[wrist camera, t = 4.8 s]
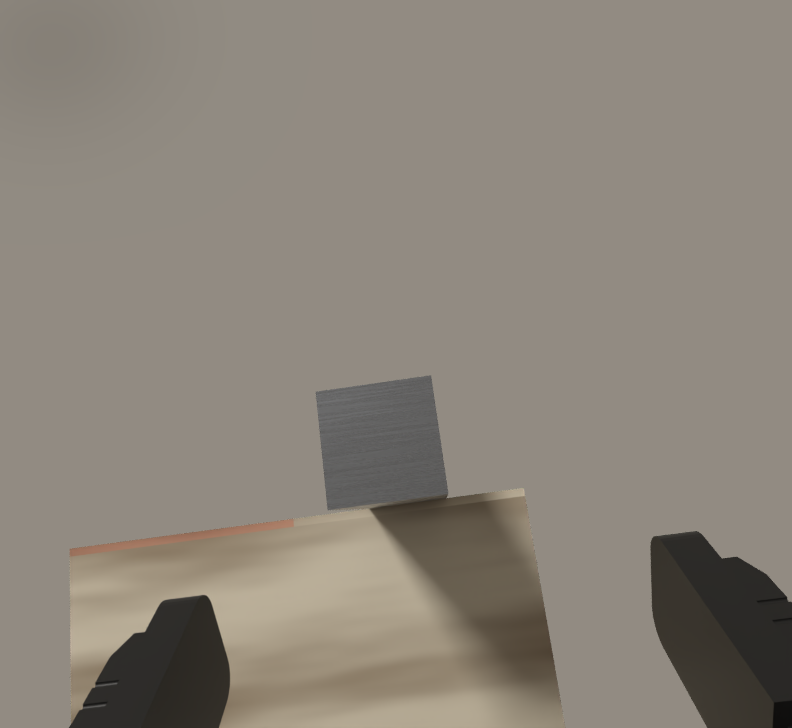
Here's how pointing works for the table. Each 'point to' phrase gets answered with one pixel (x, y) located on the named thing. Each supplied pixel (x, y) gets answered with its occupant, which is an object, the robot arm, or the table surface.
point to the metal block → (381, 444)
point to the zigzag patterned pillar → (345, 615)
